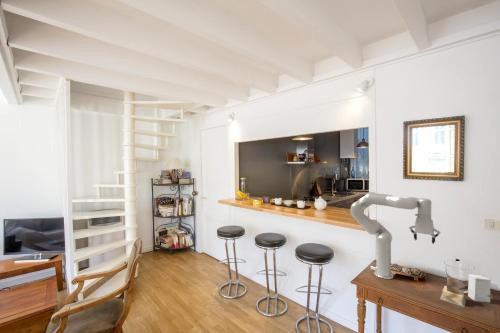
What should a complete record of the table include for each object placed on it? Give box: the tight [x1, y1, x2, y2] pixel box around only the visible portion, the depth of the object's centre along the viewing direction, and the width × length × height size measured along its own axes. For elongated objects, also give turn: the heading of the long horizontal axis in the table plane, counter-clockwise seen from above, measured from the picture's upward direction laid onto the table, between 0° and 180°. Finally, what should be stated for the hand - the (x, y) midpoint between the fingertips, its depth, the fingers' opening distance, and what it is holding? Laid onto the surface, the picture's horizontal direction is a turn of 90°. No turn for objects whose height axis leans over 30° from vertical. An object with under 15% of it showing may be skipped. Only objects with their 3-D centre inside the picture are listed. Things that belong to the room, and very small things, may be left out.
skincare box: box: [467, 273, 492, 303], centre depth 142 cm, size 8×6×15 cm
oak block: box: [441, 285, 465, 306], centre depth 142 cm, size 9×9×5 cm
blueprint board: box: [439, 294, 467, 308], centre depth 142 cm, size 20×14×1 cm
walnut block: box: [446, 276, 460, 294], centre depth 142 cm, size 5×5×7 cm
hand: (424, 241), depth 160 cm, fingers open, 9 cm apart
